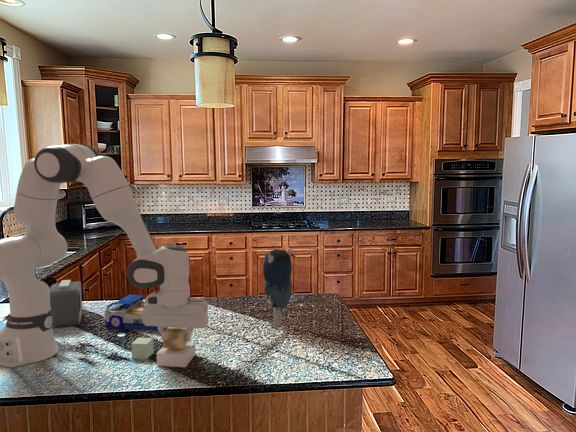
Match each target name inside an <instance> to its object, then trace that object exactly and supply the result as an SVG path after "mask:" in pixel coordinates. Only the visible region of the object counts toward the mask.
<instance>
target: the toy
mask: <svg viewBox="0 0 576 432" xmlns="http://www.w3.org/2000/svg"><path fill="white" fill-rule="evenodd" d="M291 251H292V250H291V249H289V250H288V251H287V250H285V249H279V248H276V249H273V250H269V251H268V252H267V253H265V255H264V262H263V266H262V268H263V269H262V275H263V278H264V282H265V283H264V289H263V290H264V292H265V294H266V297H267V299H266V300H267V301H268V300H269V299H270V306H271V307H273V313H274V317H273V319H274V320H273V322H272V321H271V323H270V327H272V328H273V329H274V328H275V329H278V328H279V327H282V324H281V323H282V322H281V321H282V316H283V315H282V312H284V309H285V308H286V310H289V309H288V304H289V303H290V300H291V297H292V295H293V293H292V287H293V286H292V285H293V283H292V279H291V278H292V277H291V276H292V271H293V270H292V269H293V266H292V265H293V263H292V259H291V257H292V252H291Z"/></svg>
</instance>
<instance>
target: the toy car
mask: <svg viewBox="0 0 576 432" xmlns="http://www.w3.org/2000/svg"><path fill="white" fill-rule="evenodd" d="M145 305H146V303H145V300H144V295H139V294H138V295H137V294H127V295H126V296H124V297H122V298H121V299H119V300H117V301H115V302H111V303H110V304H109V305H107V306H106V307H105V308H104V309H105V310H104V320H105V321H104V324H105V327H108V328H110V327H111V328H113V329H120V328H121V327H123V329H125V330H139V331H150V330H152V331H151V332H159V331H158V326H145V325H144V323H143V308H144V306H145ZM167 328H168V327H164V328H163V329H164V330H166V329H167Z"/></svg>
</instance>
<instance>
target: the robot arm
mask: <svg viewBox="0 0 576 432" xmlns="http://www.w3.org/2000/svg"><path fill="white" fill-rule="evenodd" d="M75 182H81V183H82V184H83V185H85V187H86V188H87V190H88V193H89V195H90V198H91V199H92V203H93V205H94V207H95V208H96V210H97V211H98V213H99V214H100V215H101V217H102V218H103V219H104V220H105V221H107V222H110V223H113V224H115V225H117V226H118V227H120V228H121V229H122V230H123V231H124V232H125V233H126V235H127V237H128V239H129V241H130V243H131V245H132V247H133V249H134V251H135V253H136V258H135V259H134V260H133V261H131V263H130V264H129V265H128V267H127V269H126V278H127V280H128V282H129V283H130V285H131V286H133V287H135V288H137V289H141V290H142V289H150V288H155V287H159V290H157V291H153V292H152V293H150V294H148V295H147V296H146V297H145V298H144V302H145V303H146V305H145V306H144V308H143V323H144V325H145V326H158V331H157V332H159V334H160V335H161V341H163V332H164V331H165V330H164V329H163V328H164V327H183V328H187V329H188V331H189V333H188V334H186V335H185V336H184V338H185V339H184V341H189V342H190V341H191V339H192V338H191V335H192V333H193V331H194V330H195V329H204V328H205V327H207V325H208V323H209V313H208V310H209V303H208V301H207V300H206V299H204V298H203V297H192V296H190V295H191V291H190V290H191V289H190V283H189V277H190V261H189V259H190V258H189V254H188V251H187V249H186V248H185V247H184V246H181V245H177V244H172V243H171V244H163V245H162V246H160V247H159V248H158V247H157V245H156V243H155V242H154V239H153V238H152V236H151V234H150V232H149V229H148V228H147V226H146V223H145V221H144V219H143V217H142V215H141V213H140V211H139V208H138V206H137V205H138V204H137V203H136V199H135V197H134V195H133V192H132V189H131V187H130V185H129V183H128V179H126V176H125V174H124V173H123V172H122V170H121V168H120V167H119V165H118V164H117V162H116V160H115V159H113V158H112V157H110V156H107V155H101V154H100V153H99V151H98V150H97V149H96V148H94V147H92V146H91V145H88V144H87V145H86V144H84V143H79V144H77V143H65V144H59V145H49V146H46V147H44V148H41V150H39V151H37V153H36V154H35V156H34V158H30V159H28V160H27V161H26V162H25V163H24V166H23V168H22V170H21V173H20V176H19V179H18V183H17V188H16V193H15V200H14V206H13V211H12V213H13V216H14V218H15V219H16V221H18V223H20V224H22V225H24V226H25V232H24V234H22V235H16V236H11V237H9V236H8V237H4V238H0V280H1V282H2V283H3V284H4V285H5V288H6V290H7V291H6V292H7V293H8V302H9V303H8V304H9V310H10V311H9V313H8V314H7V315H5V316H4V317H2V322H4V321H6V322H5V325H4V326H3V327H2V328H1V329H0V367H7V368H17V367H20V366H23V365H27V364H34V363H37V362H41V361H42V362H43V361H45V360H47V359H50V358H51V357H52V358H53V356H55V355H57V353H58V352H59V347H58V344H57V342H56V338H55V335H54V329H53V328H54V327H52V324H53V314H52V309H51V306H50V289H49V288H50V286H49V285H48V284H47V283H46V282H45V281H43V280H39V279H37V278H36V275H35V272H34V271H35V270H34V269H37V268H42V267H46V266H51V265H53V264H55V263H57V262H59V261H61V260H63V259H64V258H65V257H66V256H67V253H68V243H67V241H66V238H65V237H64V236H63V235H62V234H60V232H58V230H57V227H56V213H57V203H58V200H59V195H60V194H59V193H60V187H61V184H67V183H68V184H69V183H75Z"/></svg>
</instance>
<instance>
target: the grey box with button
mask: <svg viewBox="0 0 576 432" xmlns="http://www.w3.org/2000/svg"><path fill="white" fill-rule="evenodd" d="M49 289H50V306H51V309H52V314H53V324H52V328H61V327H72V326H79V325H81V321H82V319H83V318H82V317H83V296H82V295H83V292H82V290H83V289H82V282H81V281H80V280H79V281H72V279H63V280H61V281H60V282H56V283H53V284H51V286H49Z"/></svg>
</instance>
